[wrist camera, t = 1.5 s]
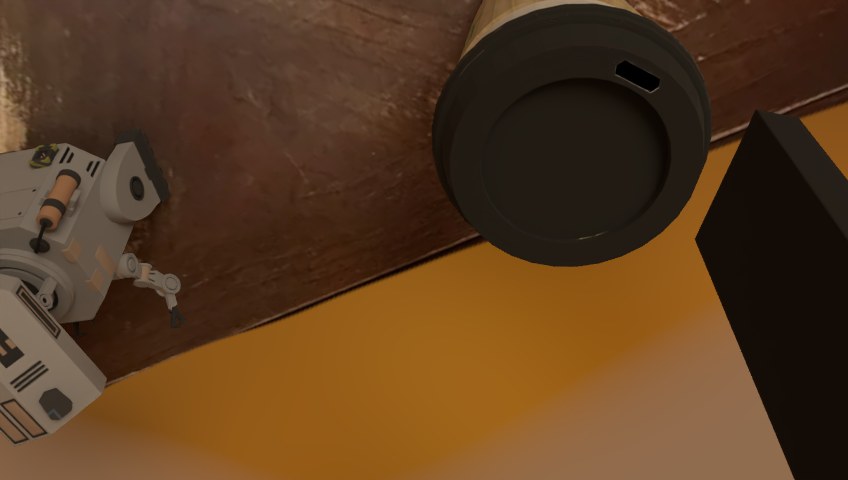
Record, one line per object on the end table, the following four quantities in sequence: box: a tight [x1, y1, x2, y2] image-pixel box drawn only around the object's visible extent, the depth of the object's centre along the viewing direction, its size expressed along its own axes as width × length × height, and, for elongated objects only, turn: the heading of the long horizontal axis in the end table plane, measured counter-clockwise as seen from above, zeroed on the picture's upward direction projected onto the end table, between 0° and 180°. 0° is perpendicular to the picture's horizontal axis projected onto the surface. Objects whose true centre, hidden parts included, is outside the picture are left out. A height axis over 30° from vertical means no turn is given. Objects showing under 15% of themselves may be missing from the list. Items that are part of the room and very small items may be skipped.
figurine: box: [0, 128, 185, 446], centre depth 40 cm, size 9×12×15 cm
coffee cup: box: [432, 0, 712, 267], centre depth 32 cm, size 10×10×15 cm
